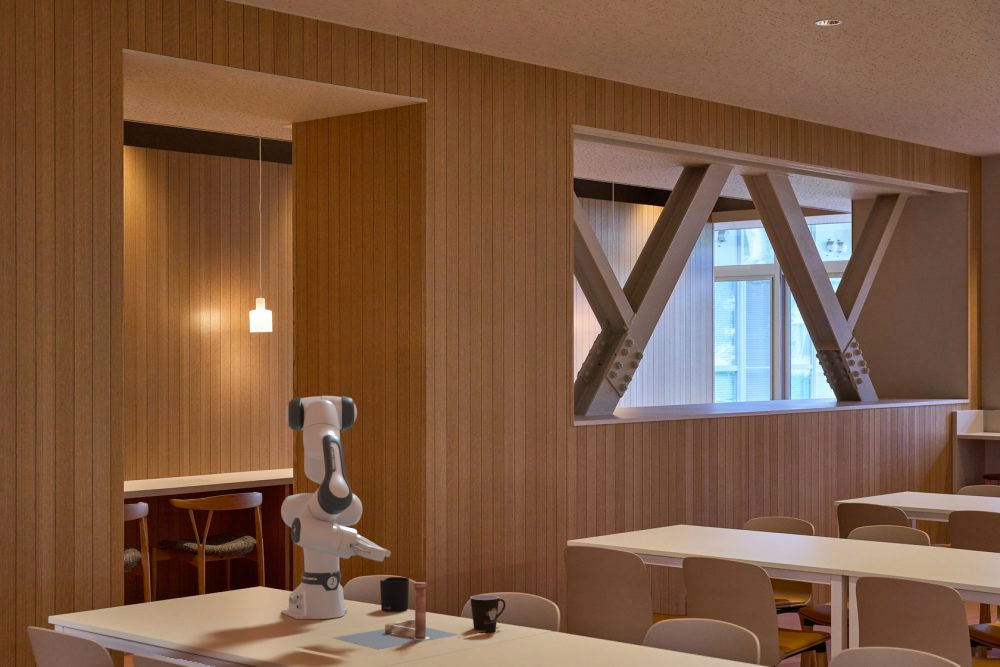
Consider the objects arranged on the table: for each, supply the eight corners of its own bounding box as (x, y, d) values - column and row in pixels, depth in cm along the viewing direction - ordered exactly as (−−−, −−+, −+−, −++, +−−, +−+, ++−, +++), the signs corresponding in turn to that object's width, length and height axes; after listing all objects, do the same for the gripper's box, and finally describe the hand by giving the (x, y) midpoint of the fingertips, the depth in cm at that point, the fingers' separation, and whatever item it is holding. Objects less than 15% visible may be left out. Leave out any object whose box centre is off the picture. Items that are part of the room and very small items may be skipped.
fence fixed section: (389, 634, 363) (389, 625, 364) (383, 633, 365) (383, 624, 365) (424, 626, 375) (424, 618, 375) (418, 625, 376) (418, 617, 377)
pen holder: (376, 608, 410) (376, 578, 410) (403, 606, 414) (403, 576, 414) (385, 613, 402) (385, 582, 402) (413, 611, 405) (413, 580, 406)
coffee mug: (474, 634, 366) (474, 600, 366) (467, 629, 374) (467, 595, 375) (512, 632, 369) (512, 598, 369) (504, 627, 377) (504, 593, 378)
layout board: (332, 640, 359) (332, 637, 359) (411, 626, 378) (411, 623, 378) (378, 652, 343) (378, 648, 343) (458, 637, 362) (458, 634, 362)
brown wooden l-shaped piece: (389, 633, 363) (389, 580, 363) (398, 631, 365) (398, 578, 366) (420, 639, 354) (420, 584, 355) (429, 637, 357) (429, 582, 357)
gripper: (359, 538, 350) (404, 549, 356) (338, 525, 369) (381, 536, 375) (353, 560, 350) (397, 571, 355) (332, 546, 368) (374, 557, 374)
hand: (388, 553), depth 365 cm, fingers closed
